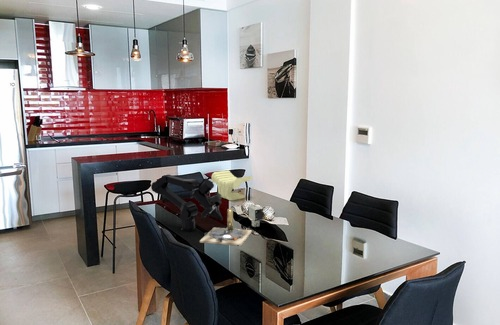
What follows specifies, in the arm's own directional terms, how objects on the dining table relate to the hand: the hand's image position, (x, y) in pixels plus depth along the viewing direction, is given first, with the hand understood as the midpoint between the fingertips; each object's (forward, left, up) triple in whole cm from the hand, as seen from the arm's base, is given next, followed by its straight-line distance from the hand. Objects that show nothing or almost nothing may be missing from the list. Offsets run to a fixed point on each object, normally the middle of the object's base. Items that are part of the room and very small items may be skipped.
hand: (222, 219), depth 218 cm
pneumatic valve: (+15, +17, -8) cm, 24 cm away
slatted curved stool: (-18, +79, -8) cm, 82 cm away
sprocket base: (+4, -5, -8) cm, 10 cm away
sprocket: (+4, -5, -6) cm, 9 cm away
